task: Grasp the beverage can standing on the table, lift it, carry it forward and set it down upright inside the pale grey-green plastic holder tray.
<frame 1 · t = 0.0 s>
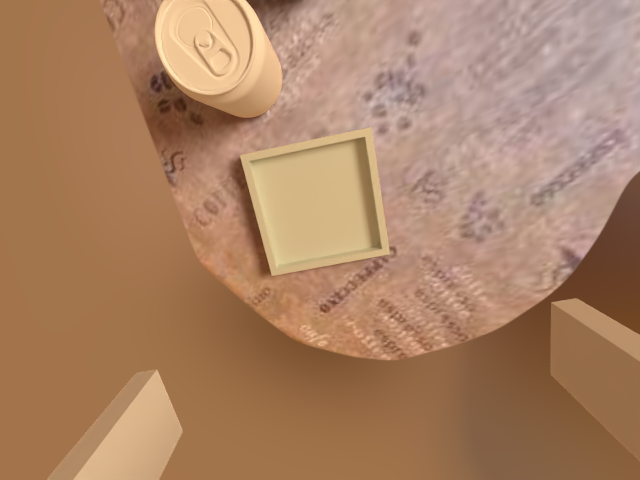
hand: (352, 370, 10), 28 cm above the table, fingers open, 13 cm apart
beverage can: (246, 79, 33), on the table
holder tray: (318, 203, 37), on the table
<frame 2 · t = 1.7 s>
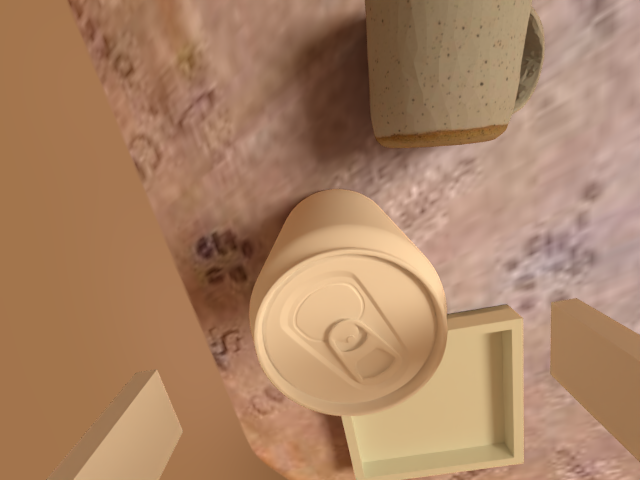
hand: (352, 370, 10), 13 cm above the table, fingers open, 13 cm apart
beverage can: (336, 241, 23), on the table
ceramic mug: (438, 70, 19), on the table
holder tray: (423, 391, 27), on the table
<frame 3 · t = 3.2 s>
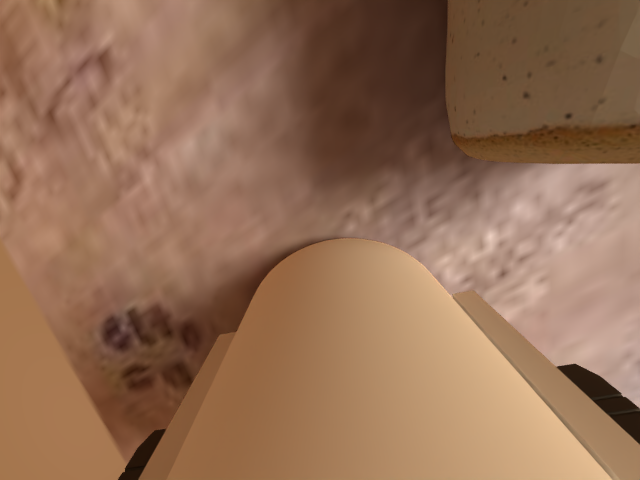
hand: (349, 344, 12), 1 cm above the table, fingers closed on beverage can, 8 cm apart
beverage can: (346, 322, 13), on the table, touching gripper
ceramic mug: (565, 8, 10), on the table
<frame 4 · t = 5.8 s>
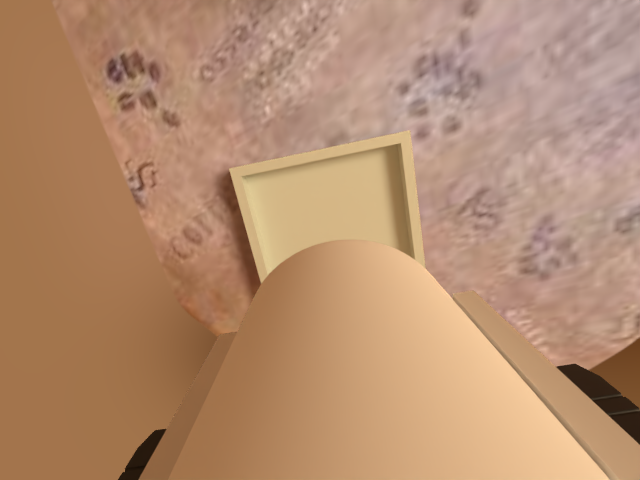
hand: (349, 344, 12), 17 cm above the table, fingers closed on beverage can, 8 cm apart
beverage can: (346, 324, 13), point 16 cm above the table, touching gripper
holder tray: (333, 231, 28), on the table
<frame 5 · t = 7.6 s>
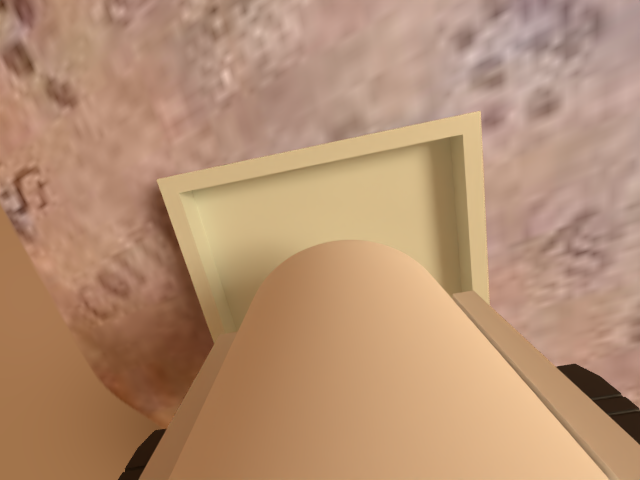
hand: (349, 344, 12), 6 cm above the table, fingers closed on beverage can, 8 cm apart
beverage can: (346, 324, 13), point 5 cm above the table, touching gripper
holder tray: (339, 277, 17), on the table
when the fingers open (3 cm above the table, at t = 8.7 s): beverage can drops 1 cm, resting on holder tray.
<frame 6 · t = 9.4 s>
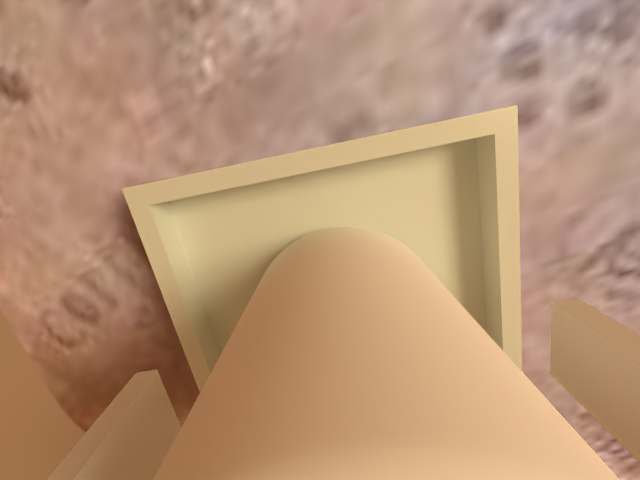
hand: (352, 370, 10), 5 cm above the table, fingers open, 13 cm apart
beverage can: (344, 305, 14), point 1 cm above the table, touching holder tray
holder tray: (343, 301, 15), on the table
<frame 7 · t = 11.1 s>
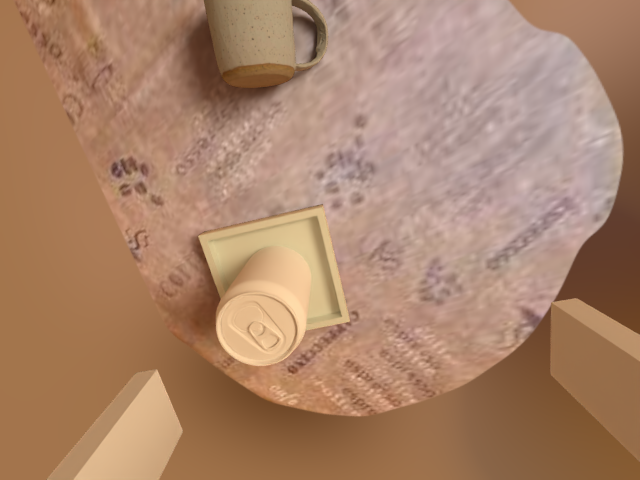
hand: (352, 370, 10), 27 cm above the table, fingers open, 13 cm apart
beverage can: (278, 275, 37), resting on holder tray
ceramic mug: (274, 42, 31), on the table
holder tray: (279, 273, 38), on the table
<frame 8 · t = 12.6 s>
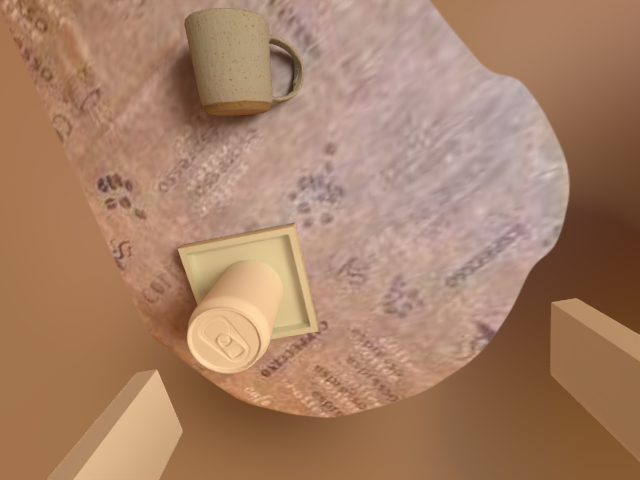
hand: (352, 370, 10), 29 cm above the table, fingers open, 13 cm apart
beverage can: (253, 286, 40), resting on holder tray
ceramic mug: (254, 74, 34), on the table
holder tray: (254, 285, 41), on the table
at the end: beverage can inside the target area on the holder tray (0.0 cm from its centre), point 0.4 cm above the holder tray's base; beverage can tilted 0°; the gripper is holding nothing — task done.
